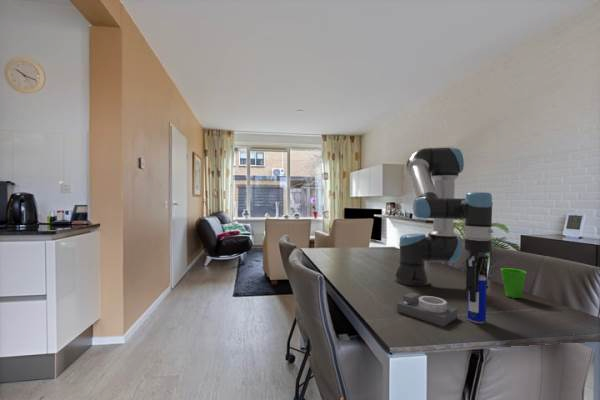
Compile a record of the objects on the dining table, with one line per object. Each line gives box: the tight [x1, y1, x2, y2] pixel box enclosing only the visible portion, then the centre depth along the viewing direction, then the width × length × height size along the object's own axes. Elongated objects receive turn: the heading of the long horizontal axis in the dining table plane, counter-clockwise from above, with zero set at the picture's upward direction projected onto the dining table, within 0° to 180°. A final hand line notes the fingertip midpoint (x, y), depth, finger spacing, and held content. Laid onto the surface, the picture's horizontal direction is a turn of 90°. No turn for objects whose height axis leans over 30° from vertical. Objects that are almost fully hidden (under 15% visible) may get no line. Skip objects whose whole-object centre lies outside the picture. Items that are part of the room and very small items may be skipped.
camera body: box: [396, 291, 458, 327], centre depth 101 cm, size 16×11×6 cm
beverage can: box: [467, 274, 487, 324], centre depth 96 cm, size 5×5×15 cm
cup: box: [499, 267, 528, 299], centre depth 122 cm, size 9×9×11 cm
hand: (476, 309), depth 96 cm, fingers closed on beverage can, 5 cm apart
